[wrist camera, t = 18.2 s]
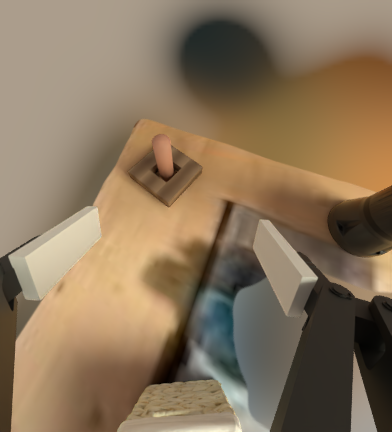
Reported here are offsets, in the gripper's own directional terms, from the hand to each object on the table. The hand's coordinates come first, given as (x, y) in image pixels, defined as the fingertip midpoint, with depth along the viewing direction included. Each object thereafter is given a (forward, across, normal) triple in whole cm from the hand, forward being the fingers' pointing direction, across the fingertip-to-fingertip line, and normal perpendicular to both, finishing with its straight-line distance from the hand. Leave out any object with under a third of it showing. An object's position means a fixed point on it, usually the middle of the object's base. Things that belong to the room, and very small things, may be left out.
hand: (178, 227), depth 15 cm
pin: (+38, -7, -4) cm, 39 cm away
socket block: (+38, -7, -4) cm, 39 cm away
